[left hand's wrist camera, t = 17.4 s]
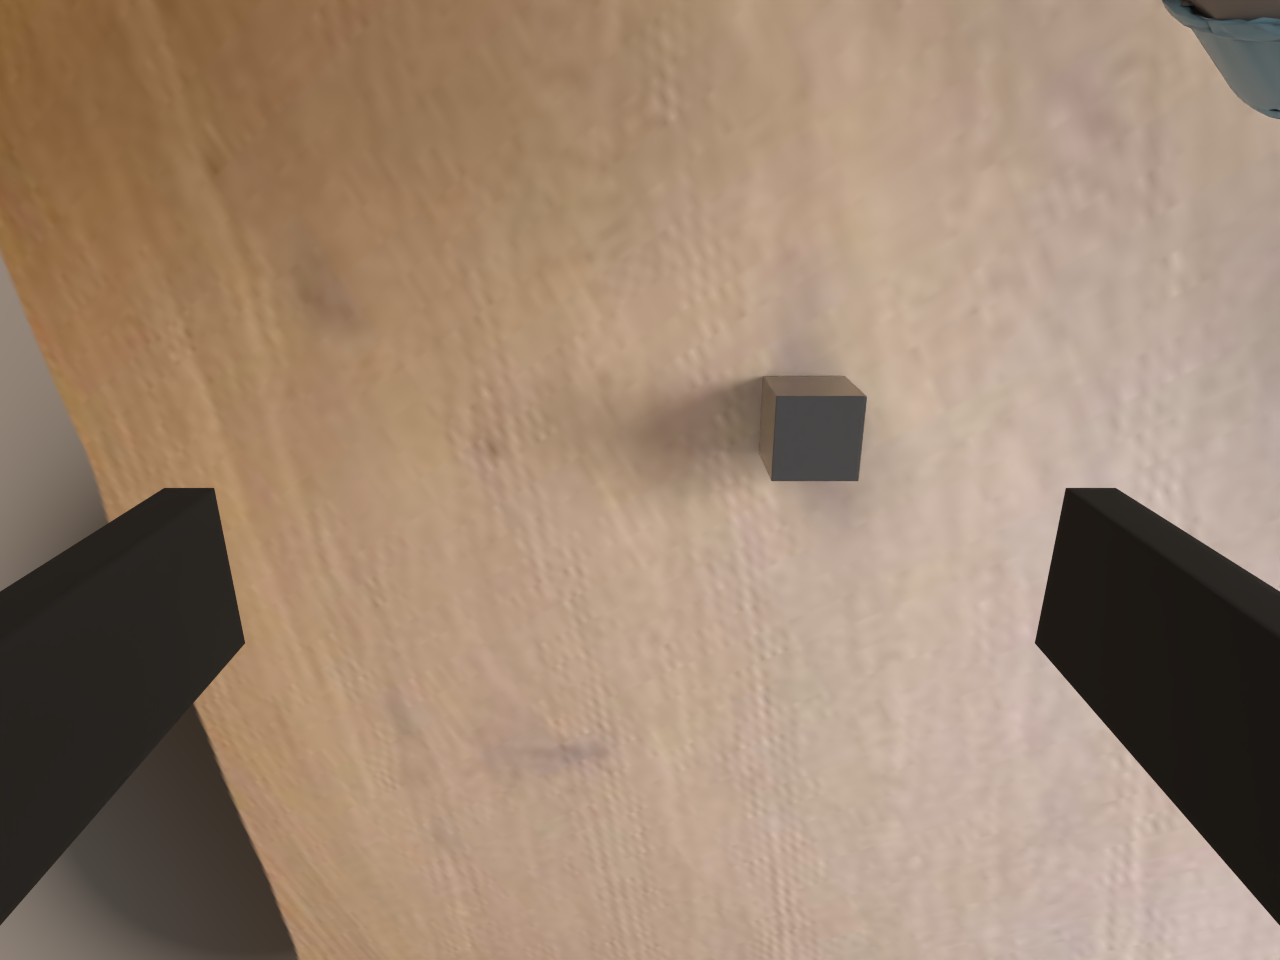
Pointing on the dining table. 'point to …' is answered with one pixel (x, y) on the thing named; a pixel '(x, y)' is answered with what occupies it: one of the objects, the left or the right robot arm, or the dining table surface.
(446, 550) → the dining table surface
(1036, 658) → the dining table surface
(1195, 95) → the dining table surface
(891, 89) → the dining table surface
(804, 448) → the slate block
